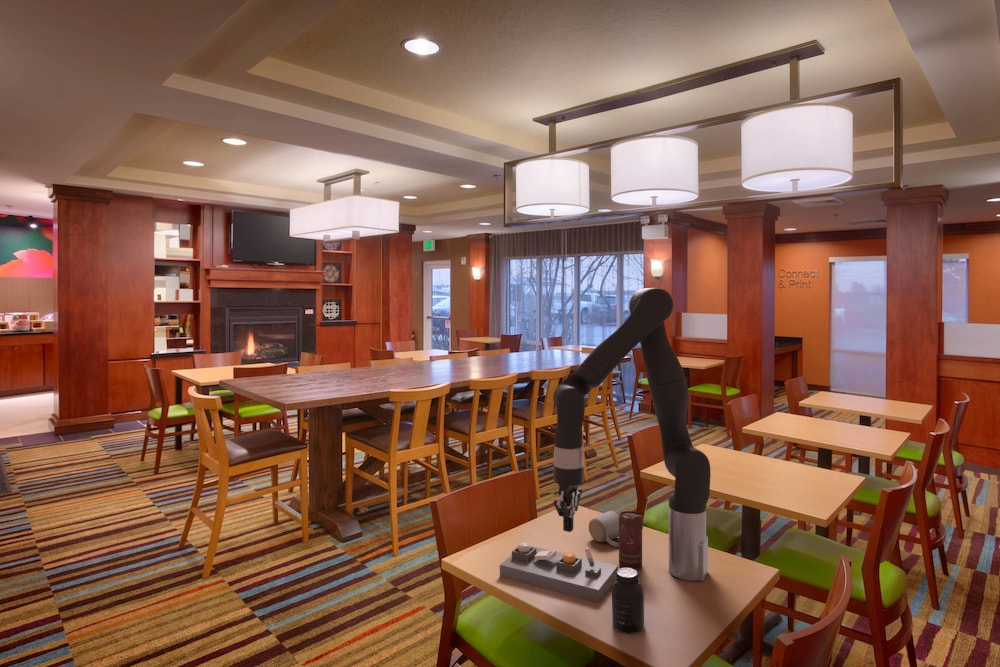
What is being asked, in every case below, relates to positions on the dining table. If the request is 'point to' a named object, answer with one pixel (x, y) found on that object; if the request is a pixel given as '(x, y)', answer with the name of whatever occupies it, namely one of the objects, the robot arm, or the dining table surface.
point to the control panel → (560, 574)
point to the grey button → (524, 547)
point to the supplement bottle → (627, 601)
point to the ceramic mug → (605, 528)
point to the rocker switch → (545, 555)
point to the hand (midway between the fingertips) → (568, 530)
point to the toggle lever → (589, 557)
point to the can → (630, 539)
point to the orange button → (569, 558)
